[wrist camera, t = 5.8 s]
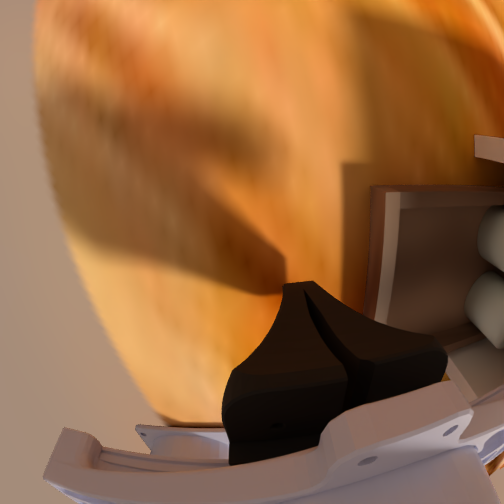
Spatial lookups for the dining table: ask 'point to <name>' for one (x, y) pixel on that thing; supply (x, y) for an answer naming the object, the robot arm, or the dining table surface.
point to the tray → (427, 258)
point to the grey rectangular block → (484, 352)
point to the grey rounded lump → (492, 236)
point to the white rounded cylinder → (487, 307)
